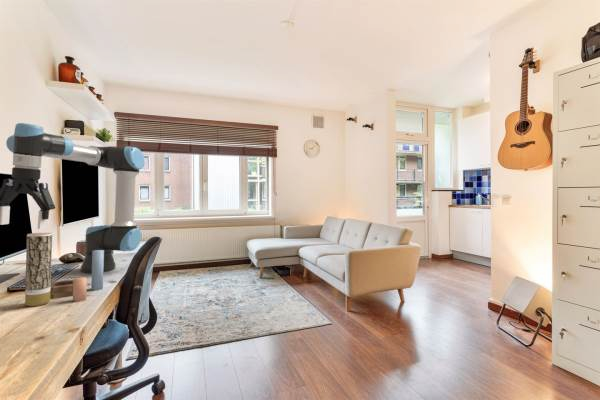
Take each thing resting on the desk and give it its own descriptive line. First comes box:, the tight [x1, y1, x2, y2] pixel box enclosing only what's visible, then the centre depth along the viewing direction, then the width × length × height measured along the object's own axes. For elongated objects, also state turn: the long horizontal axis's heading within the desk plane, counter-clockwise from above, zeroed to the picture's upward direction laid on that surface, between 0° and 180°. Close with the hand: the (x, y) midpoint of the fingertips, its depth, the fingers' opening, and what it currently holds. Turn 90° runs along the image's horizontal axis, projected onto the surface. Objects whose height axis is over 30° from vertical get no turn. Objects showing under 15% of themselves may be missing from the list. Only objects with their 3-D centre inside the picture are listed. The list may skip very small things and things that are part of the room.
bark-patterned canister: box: [24, 232, 53, 307], centre depth 106 cm, size 7×7×25 cm
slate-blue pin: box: [90, 250, 104, 292], centre depth 124 cm, size 4×4×16 cm
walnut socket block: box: [50, 278, 74, 300], centre depth 117 cm, size 10×10×4 cm
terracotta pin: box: [72, 276, 88, 303], centre depth 111 cm, size 4×4×8 cm
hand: (23, 226), depth 107 cm, fingers open, 13 cm apart
